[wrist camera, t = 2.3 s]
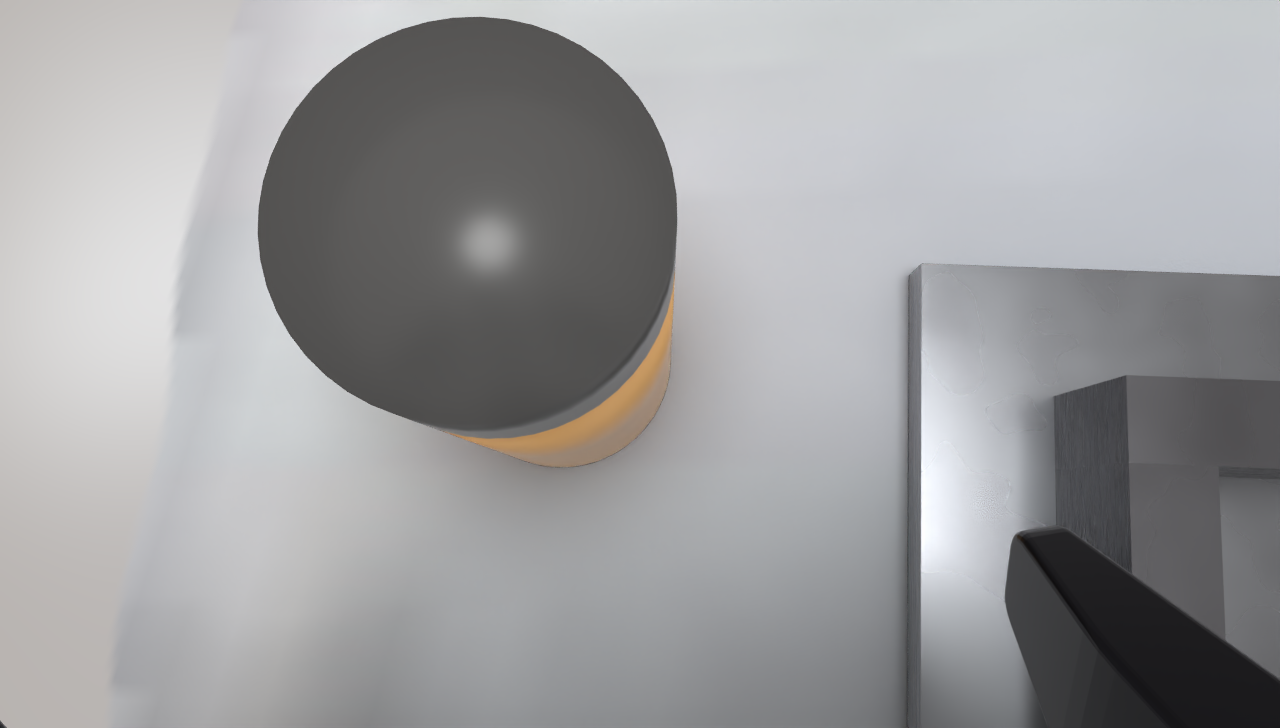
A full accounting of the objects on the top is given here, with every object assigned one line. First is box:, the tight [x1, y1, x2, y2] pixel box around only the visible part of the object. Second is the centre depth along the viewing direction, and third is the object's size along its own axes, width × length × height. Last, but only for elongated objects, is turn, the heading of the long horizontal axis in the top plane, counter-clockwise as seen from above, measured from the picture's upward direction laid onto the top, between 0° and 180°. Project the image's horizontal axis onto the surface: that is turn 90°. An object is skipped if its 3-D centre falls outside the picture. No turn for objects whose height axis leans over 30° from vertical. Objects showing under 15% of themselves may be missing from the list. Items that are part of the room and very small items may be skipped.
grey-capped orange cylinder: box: [258, 17, 677, 467], centre depth 15 cm, size 4×4×10 cm
